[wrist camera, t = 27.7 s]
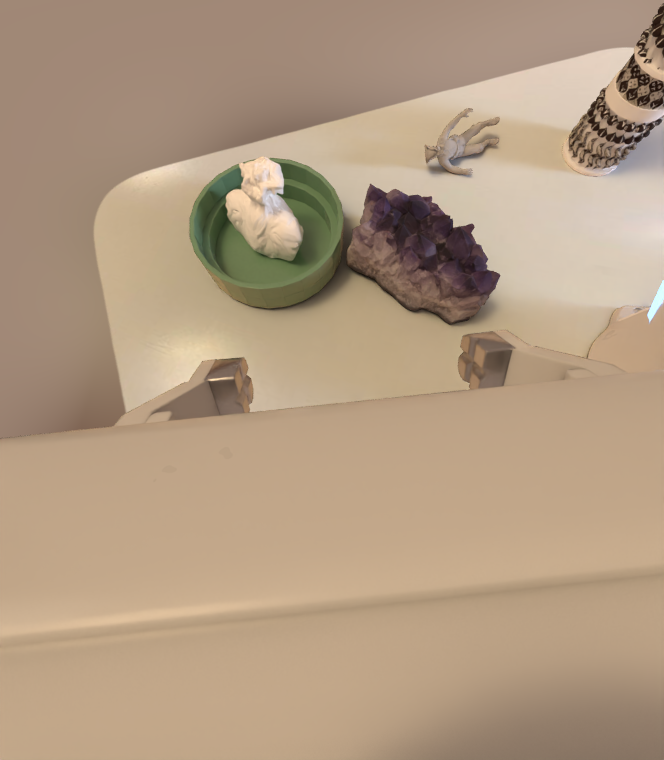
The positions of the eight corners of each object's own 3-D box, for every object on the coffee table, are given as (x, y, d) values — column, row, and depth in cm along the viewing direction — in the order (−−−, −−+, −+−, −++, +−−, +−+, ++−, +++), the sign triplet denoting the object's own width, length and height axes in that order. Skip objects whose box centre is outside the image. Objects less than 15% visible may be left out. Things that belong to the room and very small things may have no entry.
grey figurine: (499, 165, 48) (452, 180, 43) (470, 172, 51) (424, 187, 46) (501, 101, 44) (450, 109, 39) (469, 114, 47) (419, 122, 42)
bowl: (334, 186, 46) (334, 151, 41) (349, 302, 41) (351, 279, 36) (206, 199, 46) (189, 165, 40) (207, 316, 41) (188, 296, 36)
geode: (500, 280, 42) (546, 238, 32) (449, 346, 41) (480, 325, 31) (380, 200, 44) (389, 138, 34) (332, 261, 44) (326, 217, 34)
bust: (308, 267, 44) (334, 181, 37) (278, 280, 39) (302, 182, 32) (243, 228, 46) (256, 139, 39) (205, 235, 41) (212, 132, 33)
